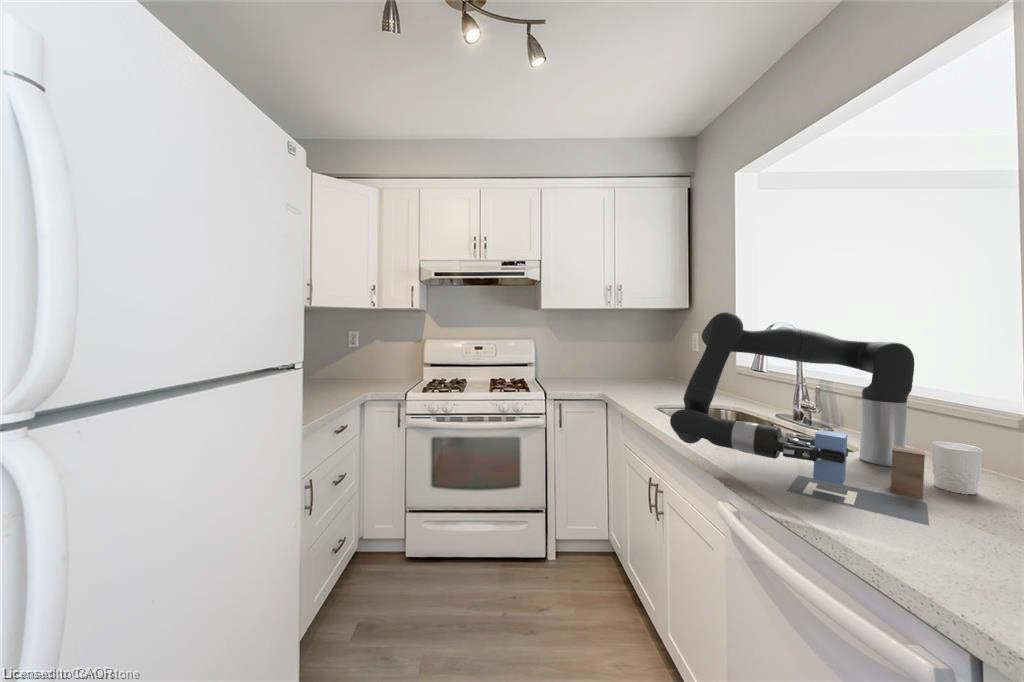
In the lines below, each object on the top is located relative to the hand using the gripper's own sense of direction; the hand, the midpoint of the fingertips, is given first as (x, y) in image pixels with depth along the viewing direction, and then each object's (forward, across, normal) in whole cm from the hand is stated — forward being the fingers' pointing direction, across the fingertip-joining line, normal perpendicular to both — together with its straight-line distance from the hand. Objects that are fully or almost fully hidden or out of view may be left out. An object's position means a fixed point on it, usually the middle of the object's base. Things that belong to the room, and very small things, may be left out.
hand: (845, 455), depth 87 cm
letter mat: (+2, +1, +9) cm, 10 cm away
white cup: (+18, +26, +9) cm, 33 cm away
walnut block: (+10, +13, +9) cm, 19 cm away
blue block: (-3, 0, +6) cm, 6 cm away
